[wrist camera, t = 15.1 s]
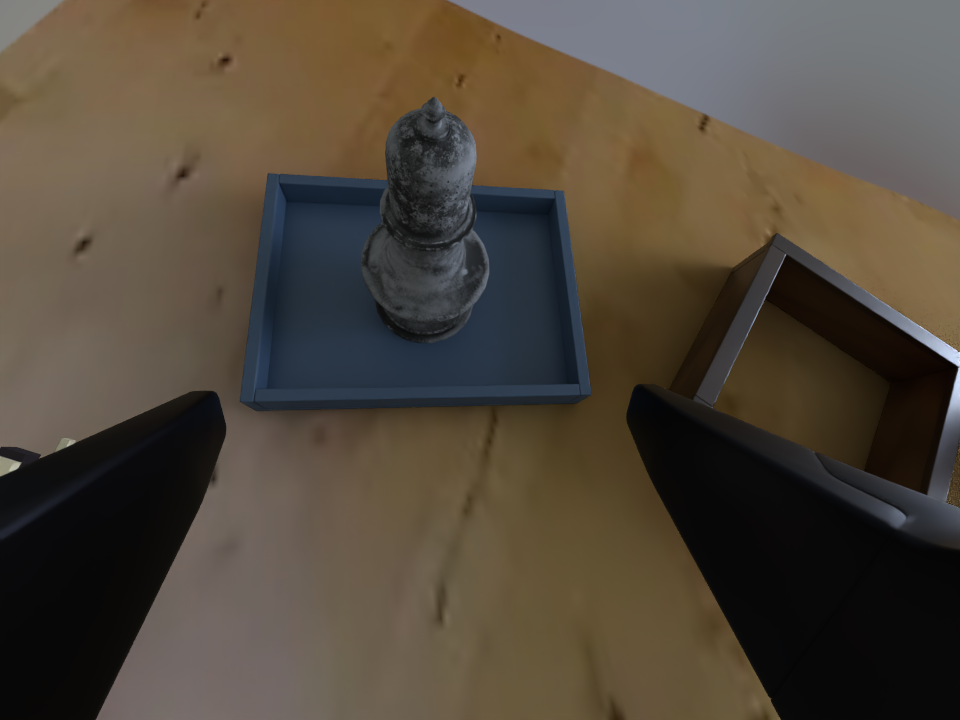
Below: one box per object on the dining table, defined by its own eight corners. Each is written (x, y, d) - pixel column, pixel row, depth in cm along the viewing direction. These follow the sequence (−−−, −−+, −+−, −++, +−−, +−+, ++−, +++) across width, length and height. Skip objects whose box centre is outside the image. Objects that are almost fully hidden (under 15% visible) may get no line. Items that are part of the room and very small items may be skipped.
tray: (553, 212, 26) (564, 190, 24) (577, 403, 23) (592, 395, 21) (279, 198, 24) (267, 172, 22) (255, 411, 20) (238, 402, 18)
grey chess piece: (346, 285, 22) (274, 65, 11) (434, 232, 24) (451, -4, 13) (413, 370, 21) (412, 226, 10) (500, 308, 23) (581, 128, 12)
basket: (851, 568, 22) (929, 580, 19) (647, 423, 23) (686, 411, 19) (907, 380, 26) (977, 363, 23) (733, 264, 27) (777, 232, 24)
